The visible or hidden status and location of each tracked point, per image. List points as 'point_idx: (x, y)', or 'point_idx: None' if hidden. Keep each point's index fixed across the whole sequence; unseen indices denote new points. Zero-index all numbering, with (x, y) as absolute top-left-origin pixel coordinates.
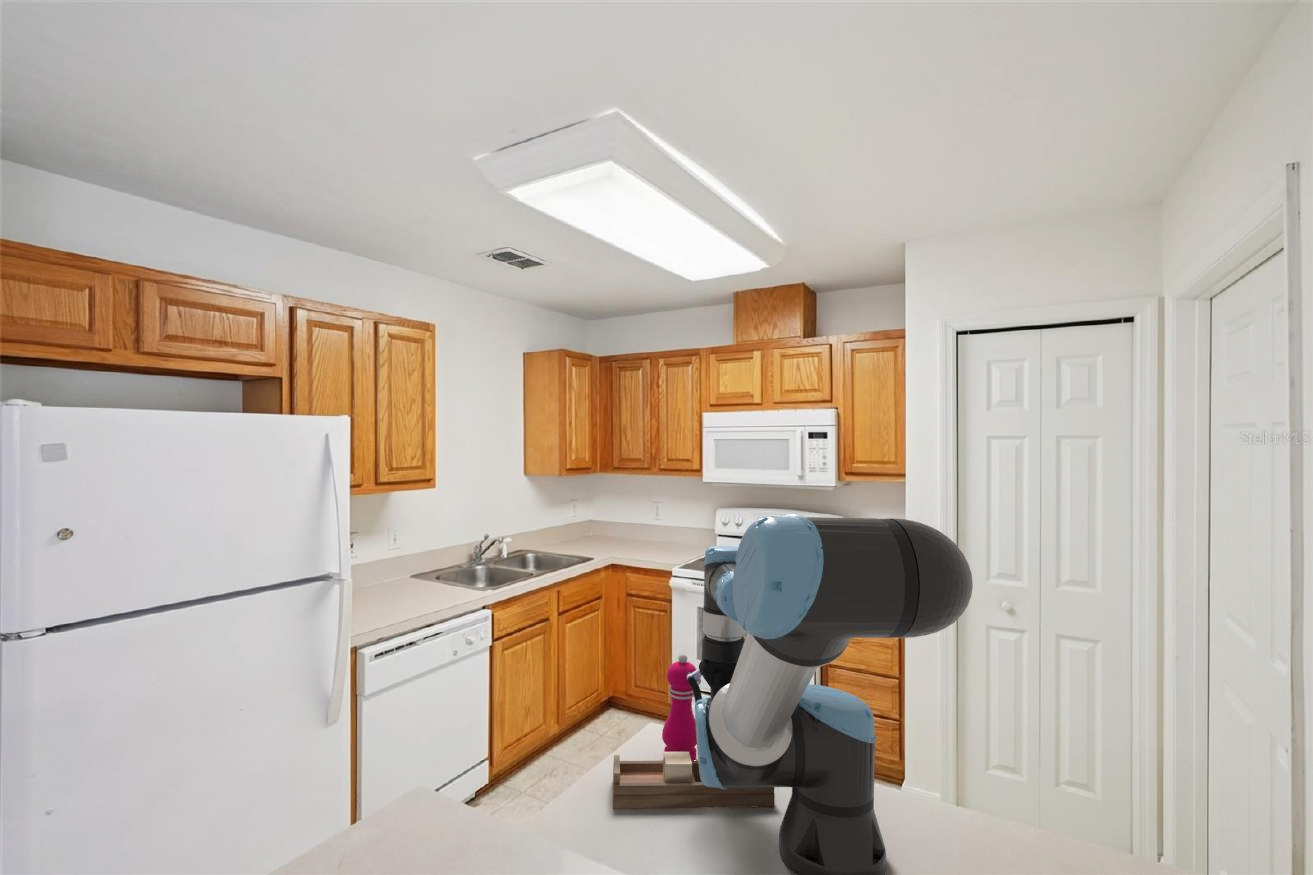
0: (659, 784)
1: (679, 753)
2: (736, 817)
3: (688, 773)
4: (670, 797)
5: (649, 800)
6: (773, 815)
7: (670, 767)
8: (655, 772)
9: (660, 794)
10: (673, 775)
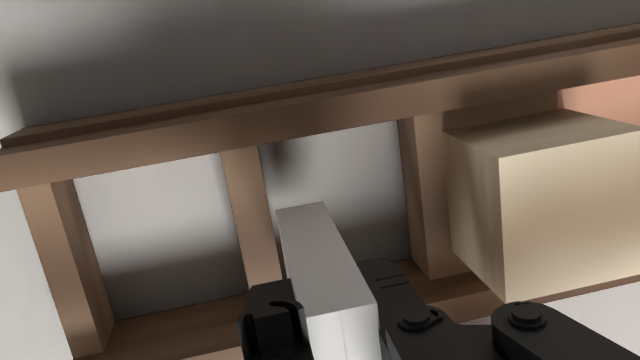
0: (625, 56)
1: (560, 272)
2: (215, 7)
3: (491, 143)
4: (538, 46)
5: (622, 30)
6: (26, 50)
7: (610, 130)
8: None
9: (590, 45)
10: (564, 126)
